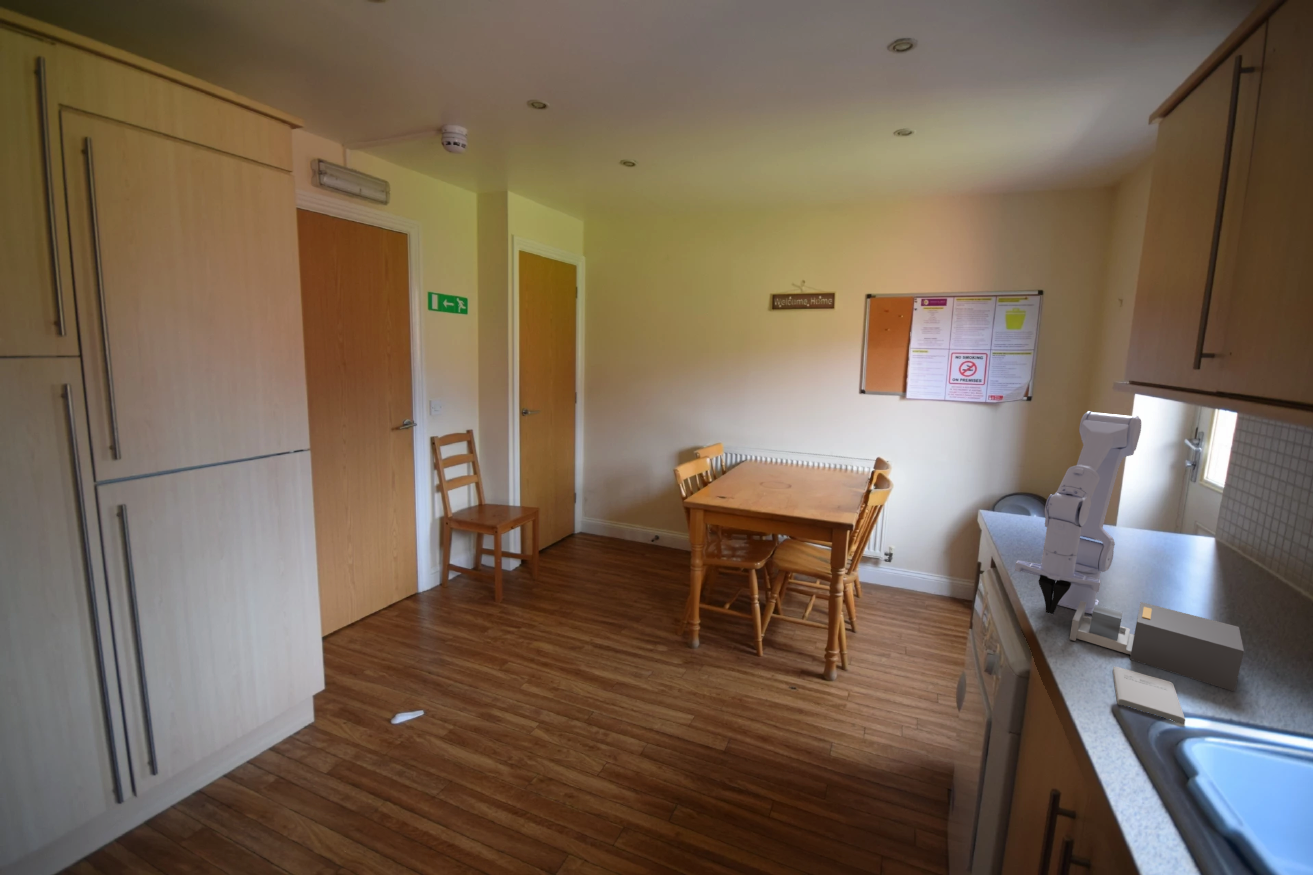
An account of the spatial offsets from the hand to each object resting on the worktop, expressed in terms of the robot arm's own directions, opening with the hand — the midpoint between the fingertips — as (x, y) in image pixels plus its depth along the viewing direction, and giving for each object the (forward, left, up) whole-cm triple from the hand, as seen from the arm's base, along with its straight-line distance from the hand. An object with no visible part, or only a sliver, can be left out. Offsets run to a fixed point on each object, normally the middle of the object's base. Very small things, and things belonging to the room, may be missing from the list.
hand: (1050, 612), depth 120 cm
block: (0, +9, -1) cm, 9 cm away
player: (0, +21, -2) cm, 21 cm away
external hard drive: (+19, +16, -3) cm, 25 cm away
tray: (0, +11, -2) cm, 11 cm away
